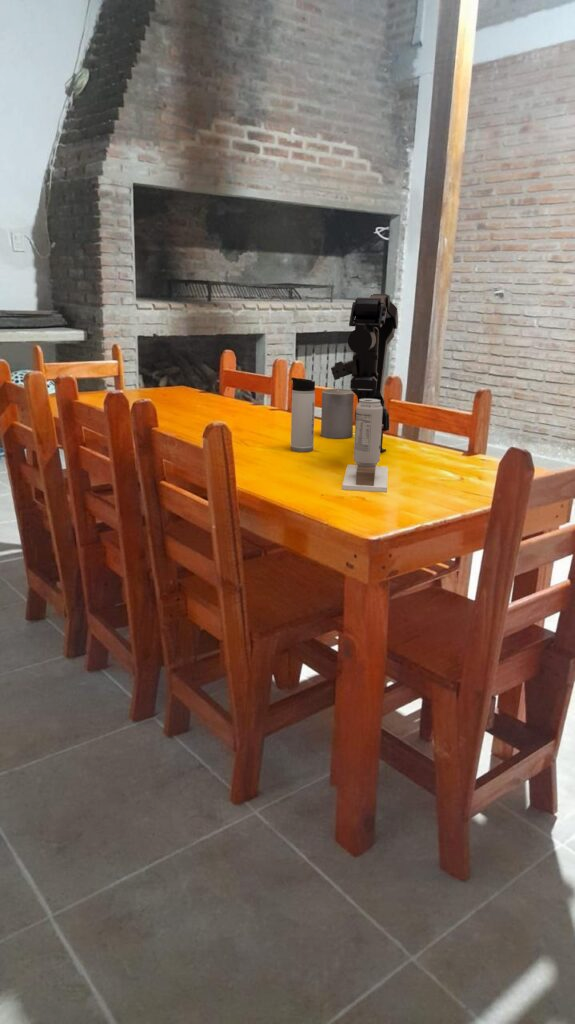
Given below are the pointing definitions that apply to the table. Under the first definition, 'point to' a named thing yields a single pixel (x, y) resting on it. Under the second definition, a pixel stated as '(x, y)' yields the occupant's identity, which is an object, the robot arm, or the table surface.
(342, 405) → the pillar candle
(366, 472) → the walnut ridge
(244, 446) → the table surface
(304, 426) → the travel mug
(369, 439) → the energy drink can
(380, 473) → the ridge base plate
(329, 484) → the table surface
